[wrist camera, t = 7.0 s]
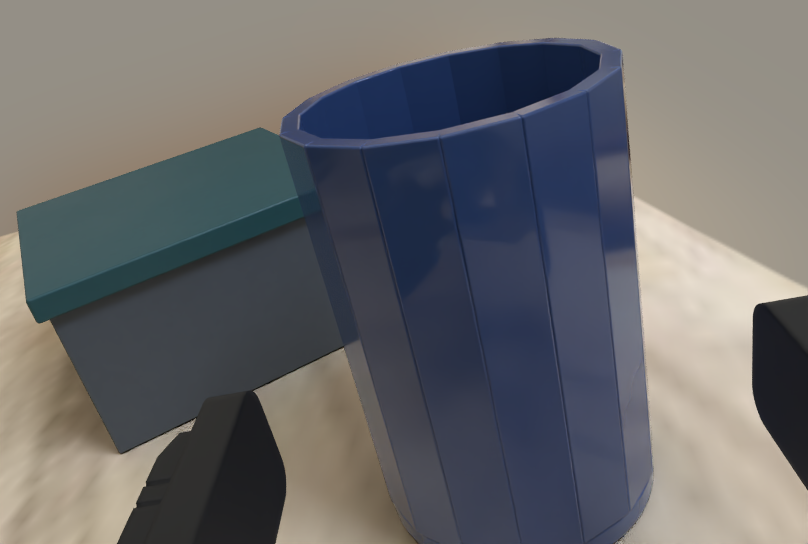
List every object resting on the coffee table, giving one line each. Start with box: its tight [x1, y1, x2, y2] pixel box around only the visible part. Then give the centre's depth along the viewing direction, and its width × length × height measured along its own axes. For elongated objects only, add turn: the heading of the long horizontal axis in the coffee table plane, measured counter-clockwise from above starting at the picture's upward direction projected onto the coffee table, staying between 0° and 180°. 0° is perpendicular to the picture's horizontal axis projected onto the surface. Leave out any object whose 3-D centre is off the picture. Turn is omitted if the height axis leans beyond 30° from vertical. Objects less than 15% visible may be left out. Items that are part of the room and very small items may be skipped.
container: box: [17, 128, 344, 453], centre depth 27 cm, size 11×11×6 cm
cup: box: [279, 38, 654, 544], centre depth 16 cm, size 7×7×10 cm
